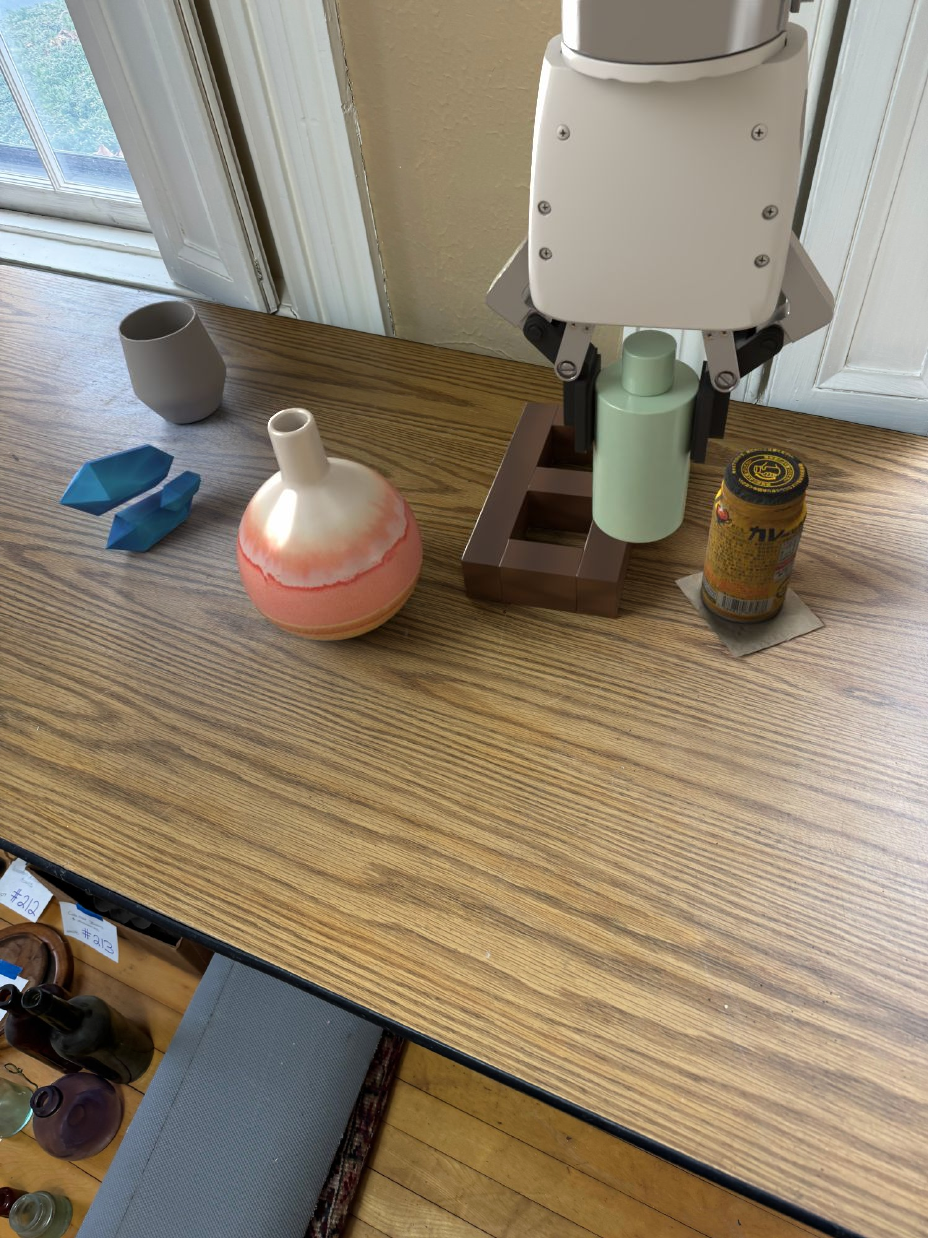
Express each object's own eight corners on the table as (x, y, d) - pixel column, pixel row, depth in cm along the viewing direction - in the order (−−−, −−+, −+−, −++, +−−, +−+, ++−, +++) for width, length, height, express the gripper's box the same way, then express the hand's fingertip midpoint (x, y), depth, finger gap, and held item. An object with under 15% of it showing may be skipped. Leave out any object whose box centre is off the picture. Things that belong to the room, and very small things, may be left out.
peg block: (656, 450, 77) (659, 412, 74) (615, 619, 64) (617, 582, 61) (528, 438, 80) (526, 401, 77) (466, 596, 67) (460, 560, 64)
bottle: (688, 487, 46) (710, 317, 39) (678, 548, 43) (699, 377, 36) (600, 478, 48) (604, 312, 40) (584, 537, 45) (586, 369, 37)
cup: (248, 382, 92) (219, 294, 84) (220, 435, 85) (185, 345, 78) (167, 383, 93) (130, 296, 86) (133, 435, 87) (91, 347, 80)
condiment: (757, 553, 67) (783, 426, 58) (824, 627, 61) (864, 499, 53) (674, 582, 66) (687, 458, 57) (734, 660, 60) (760, 536, 51)
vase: (465, 578, 69) (436, 389, 55) (362, 699, 62) (301, 516, 48) (335, 526, 74) (281, 344, 61) (227, 632, 67) (140, 452, 54)
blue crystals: (211, 442, 73) (83, 495, 65) (225, 529, 78) (108, 586, 71) (158, 416, 76) (31, 463, 69) (175, 501, 82) (59, 552, 74)
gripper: (945, -48, 29) (826, 409, 42) (460, -24, 33) (494, 385, 47) (967, 21, 24) (825, 509, 38) (399, 39, 28) (456, 472, 42)
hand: (642, 437), depth 42 cm, fingers closed on bottle, 4 cm apart
